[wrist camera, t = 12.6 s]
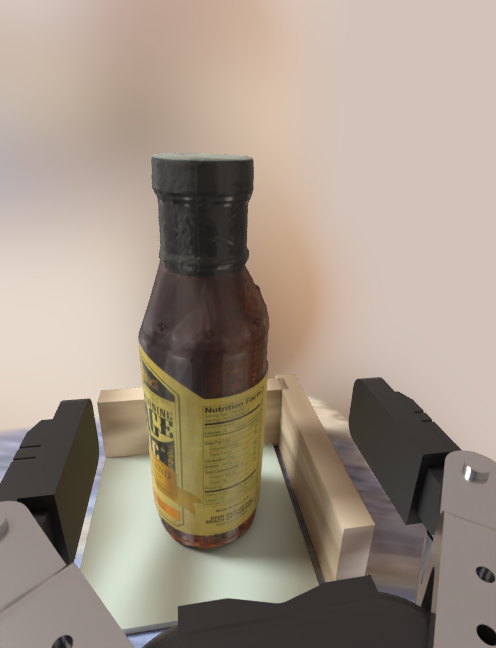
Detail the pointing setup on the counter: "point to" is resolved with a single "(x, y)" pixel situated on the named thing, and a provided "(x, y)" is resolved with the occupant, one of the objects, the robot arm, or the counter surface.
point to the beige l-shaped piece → (243, 553)
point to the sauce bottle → (204, 352)
